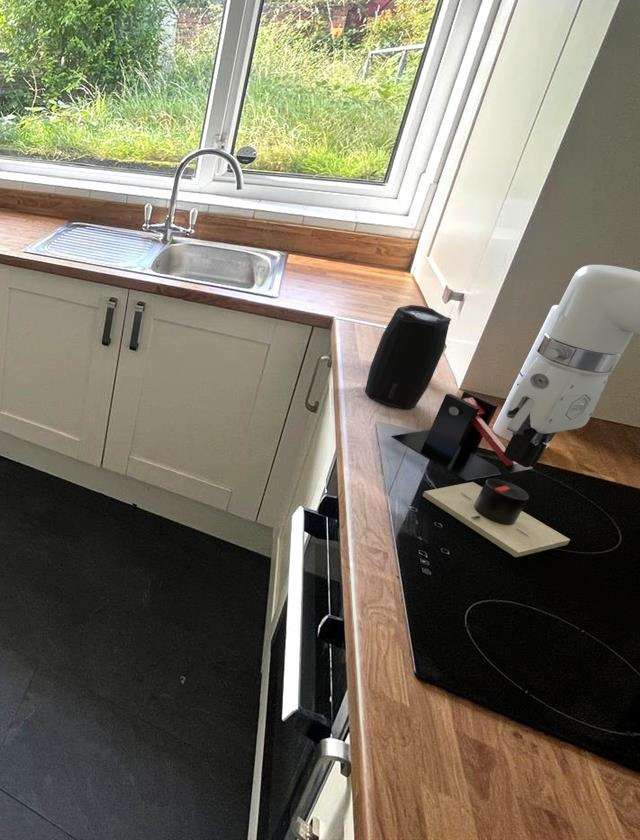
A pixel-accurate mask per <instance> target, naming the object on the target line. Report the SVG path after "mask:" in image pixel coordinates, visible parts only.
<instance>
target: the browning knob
mask: <svg viewBox="0 0 640 840" xmlns="http://www.w3.org/2000/svg"><path fill="white" fill-rule="evenodd" d="M482 487H483V488H482V490H481V492H480V494H479V496H478V498H477V500H476V502H475V504H474V508H475V510H476V511H477V512H478V513H479V514H481V515H482V516H484V517H485V518H487V519H489V520H491V521H494V522H496V523H499V524H504V525H513V524H515V522H516V520H517V518H518V517H519V515H520V513H521V511H523V509H524V507H525V505H526V504H527V502H528V500H529V498H530V495H529V494H528V492H527V491H525V490H524V489H523V488H521V487H520V486H518V485H516V484H514V483H512V482H510V481H506V480H504V479H500V478H487V479H486V481H485V482H484V484H483V486H482Z"/></svg>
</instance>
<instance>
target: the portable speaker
mask: <svg viewBox="0 0 640 840" xmlns="http://www.w3.org/2000/svg"><path fill="white" fill-rule="evenodd" d="M451 321H452V318H450V317H448V316H445V315H443V314H442V313H439V312H437V310H435V309H433V308H431V307H427V306H423V305H416V304H408V305H405V306H399V307H397V309H396V310H395V311H394V313H393V316H392V317H391V319H390V320H389V322H388V324H387V326H386V328H385V329H384V331H383V333H382V335H381V337H380V340H379V343H378V346H377V347H376V351H375V352H374V353H375V354H374V356H373V359H372V361H371V364H370V367H369V371H368V376H367V380H366V385H365V389H364V393H365V394H366V396H367V397H368V398H369V399H371V400H372V401H374V402H376V403H378V404H380V405H382V406H386V407H388V408H391V409H392V408H393V409H397V410H404V411H405V410H406V411H407V410H412V409H415V408H416V406H417V405H418V403H419V402H420V400H421V398H422V397H423V395H424V393H426V391H427V389H428V388H429V385H430V383H431V380H432V378H433V376H434V374H435V372H436V369H437V367H438V364H439V362H440V361H441V357H442V355H443V353H444V350H445V346H446V341H447V336H448V332H449V327H450V324H451Z"/></svg>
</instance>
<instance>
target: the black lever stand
mask: <svg viewBox="0 0 640 840" xmlns="http://www.w3.org/2000/svg"><path fill="white" fill-rule="evenodd" d="M471 397H473V398H474V400H475V401H476V402H477V403H478V404H479V406H480V407H481V408H482V409H483V411H484V412H485V413H484V414H482V415H480V417H481V418H482V420H483V421H484V422H485V423H486V425H487V426H488V427H489V426H490V424H491V422H492V420H493V417H494V416H495V413H496V412H497V409H498V407H499V404H497V403H494V401H493V402H492V401H491V400H488V399H486V398H484V397H482V396H480V395H478V394H476V393H473V392H471V391H470V390H466V391H465V390H464V391H463V392H462V395H461V397H458V396H456V395H454V394H453V393H446V394H445V395H444V398H443V400H442V401H441V404H440V406H439V408H438V411H437V413H436V415H435V418H434V420H433V422H432V425H431V426H430V429H426V430H425V429H424V430H419V431H412V432H407V433H406V432H405V433H401V434H394V435H391V436H390V437H391V438H392V439H394V440H396V441H398V442H399V443H401V444H402V445H404V446H406V447H407V448H409V449H410V450H413V451H414V452H415V453H417V454H419V455H420V456H423V457H424V458H426V459H428V460H429V461H431V462H432V463H434V464H436V465H438V466H439V467H441V468H442V469H444V470H446V471H448V472H449V473H451V474H453V475H454V476H455V477H457V478H459V479H461V480H462V481H465V482H472V481H475V480H481V479H487V478H493V477H497V476H501V475H502V474H501V472H500V471H499V470H498V469H499V468H500V467H498V466H496V465H494V464H493V463H492V462H489V461H487V460H486V459H483V458H482V457H480V456H478V455H476V452H477V451H478V448H479V446H480V444H481V442H482V440H483V439H484V437H483V436H482V435H481V434H480V432H479V431H478V430H477V429H476V427H475V426H474V425H473V422H474V420H475V418H476V416H477V413H478V411H479V409H480V408H479V407H477V406H475V405H473V404H471V403H469V402H467V401H464V400H462V399H465V398H471ZM502 476H503V475H502Z"/></svg>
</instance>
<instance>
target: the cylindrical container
mask: <svg viewBox="0 0 640 840" xmlns="http://www.w3.org/2000/svg"><path fill="white" fill-rule="evenodd" d="M558 305H559V304H553V305H552V306H551V308H550V309H549V312H548V314H547V316H546V318H545V320H544V322H543V324H542V326H541V328H540V330H539V333H538V334H537V336H536V339H534V340H535V341H534V342H533V344H532V347H531V349H530V350H529V353H528V355H527V357H526V359H525V360H524V363H523V364H522V367H521V369H520V371H519V373H518V374H517V377H516V380H515V381H514V383H513V386H512V388H511V389H510V391H509V393H508V395H507V398H506V400H505V402H504V403H503V406H502V408H501V410H500V412H499V414H498V416H497V418H496V420H495V422H494V424H493V426H492V432H493V433H494V434H495V435H497V436H499V437H501V438H503V439H504V440H506V441H508V442H510V440H511V438H512V436H513V434H512V433H513V432H512V431H510V430H508V429H507V427H508V425H509V424H510V422H511V421H512V419H513V418H508V417H507V416H506V413H505V412H506V408H507V406H508V404H509V401H510V399H511V397H512V396H513V394H514V392H515V390H516V388H517V387H518V385H519V383H520V382H521V380H522V378H523V377H524V375H525V374H526V372H527V371H528V369H529V368H530V366H531V365H532V364H533V362H534V361H535V359H536V358H537V356H536V355H535V351H536V349H537V347H538V345H539V343H540V341H541V339H542V337H543V335H544V333H545V331H546V329H547V327H548V325H549V323H550V321H551V319H552V317H553V315H554V313H555V311H556V309H557V307H558ZM551 442H552V440H551V441H550V442H549V443H547V444H546V443H544V442H543V443H544V444H546V445H547V446H546V448H545V449H547V448H549V446H550V443H551Z"/></svg>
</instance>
